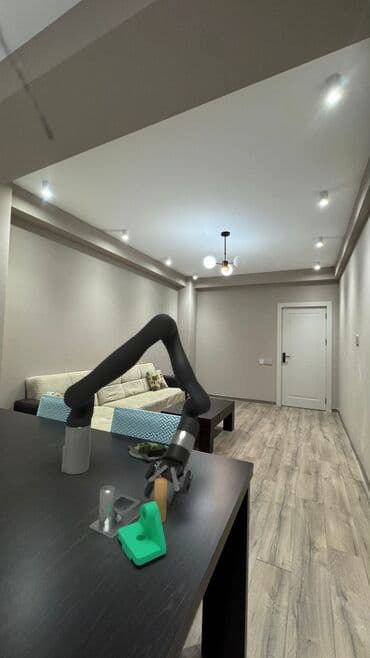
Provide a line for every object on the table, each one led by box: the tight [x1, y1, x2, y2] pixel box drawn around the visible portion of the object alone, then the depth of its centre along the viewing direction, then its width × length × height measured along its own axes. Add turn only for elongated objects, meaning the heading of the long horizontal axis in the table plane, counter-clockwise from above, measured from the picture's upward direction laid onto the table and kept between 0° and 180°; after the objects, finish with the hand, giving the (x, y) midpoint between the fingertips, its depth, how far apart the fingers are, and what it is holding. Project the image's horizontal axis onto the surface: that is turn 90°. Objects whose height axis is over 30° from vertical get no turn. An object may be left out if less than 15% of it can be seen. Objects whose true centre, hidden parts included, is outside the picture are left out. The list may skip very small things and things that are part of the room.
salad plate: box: [127, 442, 169, 462], centre depth 130 cm, size 19×18×5 cm
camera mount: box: [117, 500, 167, 566], centre depth 72 cm, size 12×8×10 cm, turn 36°
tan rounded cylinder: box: [153, 478, 168, 524], centre depth 83 cm, size 4×4×11 cm
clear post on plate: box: [89, 484, 142, 539], centre depth 82 cm, size 12×8×11 cm, turn 151°
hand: (158, 501), depth 83 cm, fingers open, 8 cm apart
